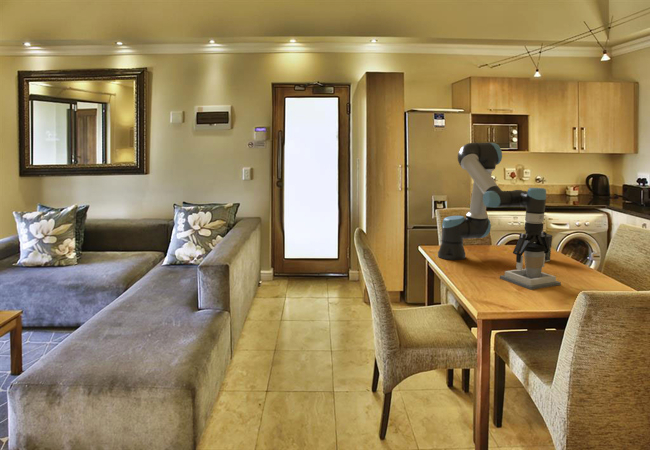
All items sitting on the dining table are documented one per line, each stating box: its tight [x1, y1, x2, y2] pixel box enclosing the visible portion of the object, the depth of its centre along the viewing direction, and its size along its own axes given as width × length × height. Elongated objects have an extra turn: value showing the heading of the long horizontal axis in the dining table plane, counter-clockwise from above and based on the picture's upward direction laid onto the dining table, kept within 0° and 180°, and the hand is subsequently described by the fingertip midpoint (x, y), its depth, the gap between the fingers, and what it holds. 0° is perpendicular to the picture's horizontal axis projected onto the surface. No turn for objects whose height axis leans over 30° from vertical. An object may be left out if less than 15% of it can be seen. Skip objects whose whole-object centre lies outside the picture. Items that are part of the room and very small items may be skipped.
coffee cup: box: [523, 243, 546, 278], centre depth 188 cm, size 9×9×15 cm
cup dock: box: [499, 267, 562, 291], centre depth 189 cm, size 18×18×4 cm
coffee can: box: [534, 233, 553, 263], centre depth 227 cm, size 10×10×14 cm
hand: (530, 267), depth 188 cm, fingers open, 13 cm apart
